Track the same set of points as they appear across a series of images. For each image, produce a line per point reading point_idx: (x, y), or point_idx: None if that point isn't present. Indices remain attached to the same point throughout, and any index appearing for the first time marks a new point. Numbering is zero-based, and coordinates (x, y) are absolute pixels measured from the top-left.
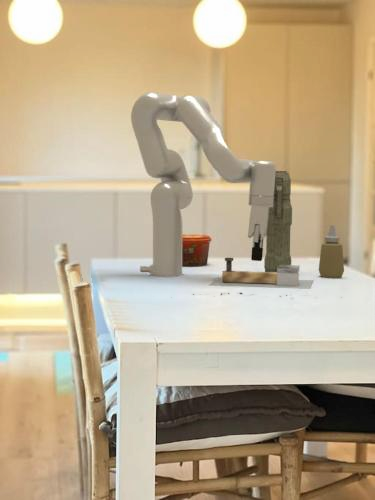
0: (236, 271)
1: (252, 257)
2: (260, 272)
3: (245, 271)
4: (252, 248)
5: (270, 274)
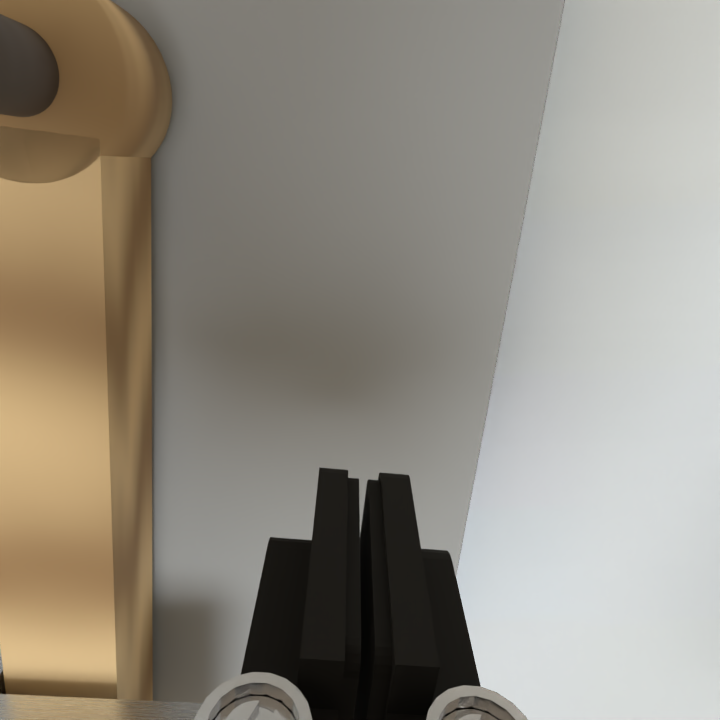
0: (47, 199)
1: (317, 506)
2: (50, 513)
3: (94, 330)
4: (304, 642)
5: (2, 605)
